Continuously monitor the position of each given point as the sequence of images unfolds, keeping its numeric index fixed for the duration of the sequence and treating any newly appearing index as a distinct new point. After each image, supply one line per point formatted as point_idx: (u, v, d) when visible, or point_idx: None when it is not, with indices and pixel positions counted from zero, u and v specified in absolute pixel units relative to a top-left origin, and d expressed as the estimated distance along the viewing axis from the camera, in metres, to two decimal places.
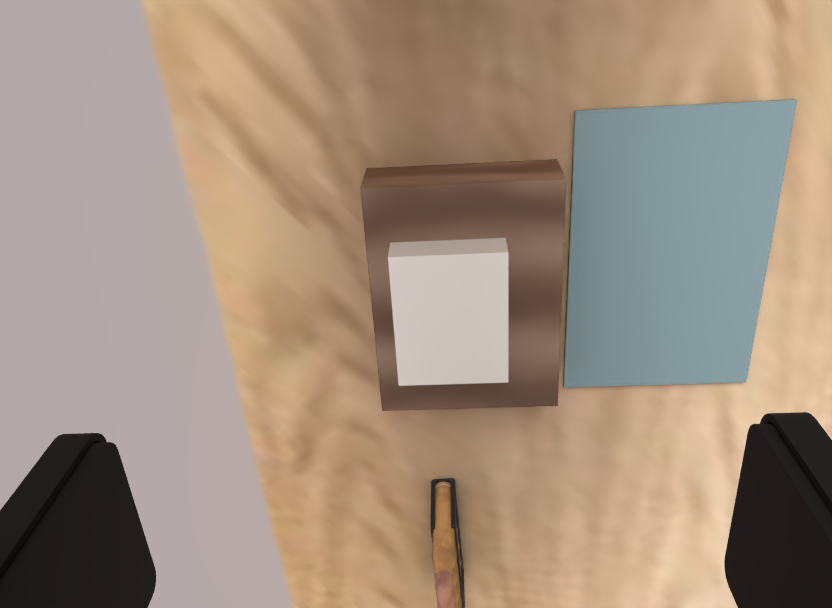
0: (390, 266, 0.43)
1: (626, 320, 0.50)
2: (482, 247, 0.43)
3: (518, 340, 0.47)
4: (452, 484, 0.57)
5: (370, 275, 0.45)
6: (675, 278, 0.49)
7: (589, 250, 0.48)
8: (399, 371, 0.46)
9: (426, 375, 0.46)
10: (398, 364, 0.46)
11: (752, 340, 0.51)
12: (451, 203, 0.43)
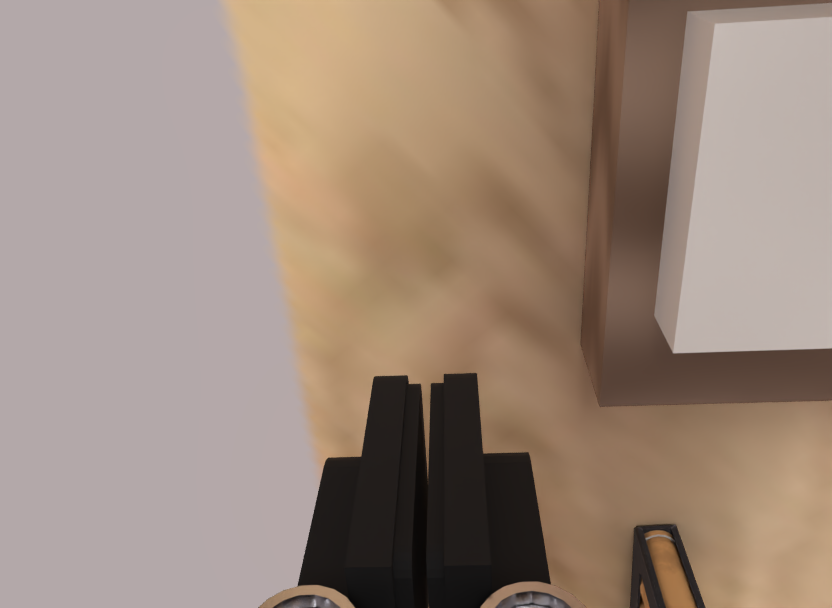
0: (716, 50, 0.17)
1: None
2: None
3: None
4: (677, 536, 0.32)
5: (625, 99, 0.20)
6: None
7: None
8: (681, 320, 0.21)
9: (741, 329, 0.21)
10: (683, 304, 0.20)
11: None
12: None
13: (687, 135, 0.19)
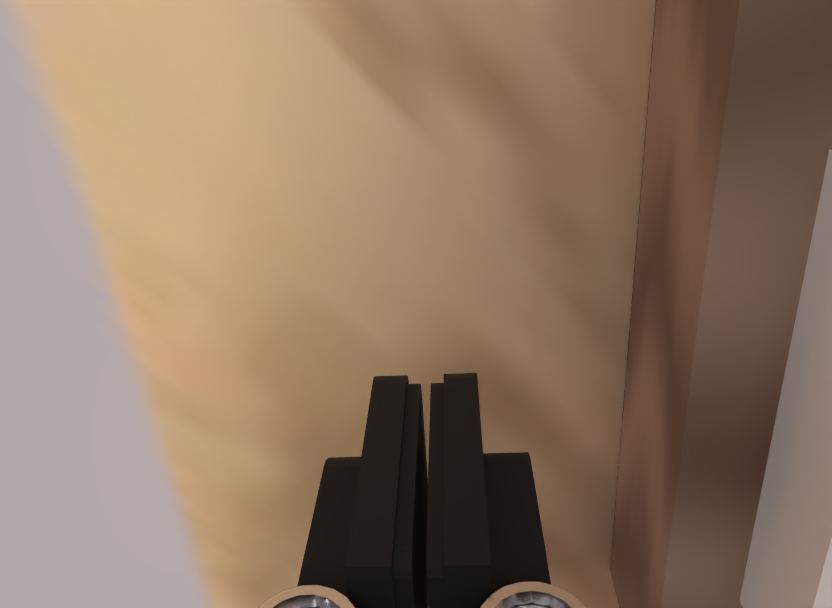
0: None
1: None
2: None
3: None
4: None
5: (708, 292, 0.11)
6: None
7: None
8: None
9: None
10: None
11: None
12: None
13: (828, 370, 0.10)
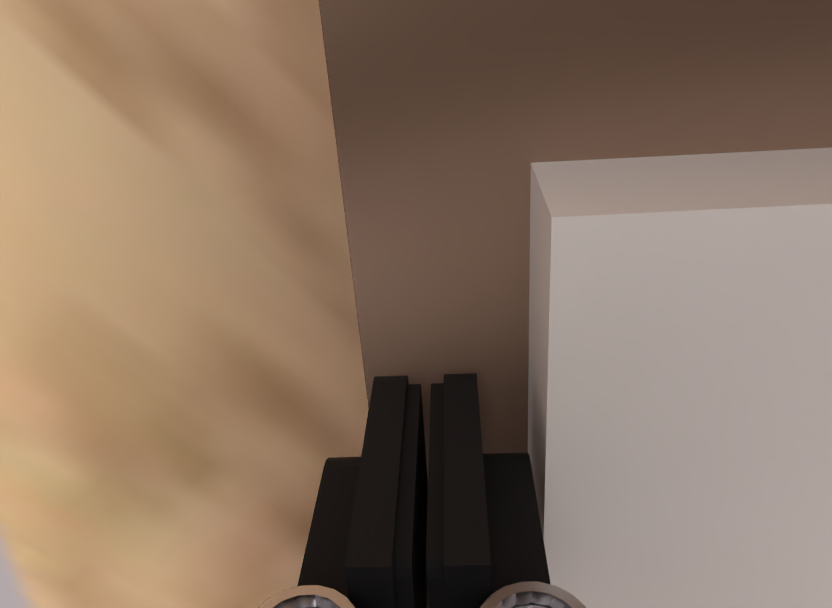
0: (559, 263, 0.09)
1: None
2: None
3: None
4: None
5: (361, 299, 0.12)
6: None
7: None
8: None
9: None
10: None
11: None
12: None
13: (537, 376, 0.11)
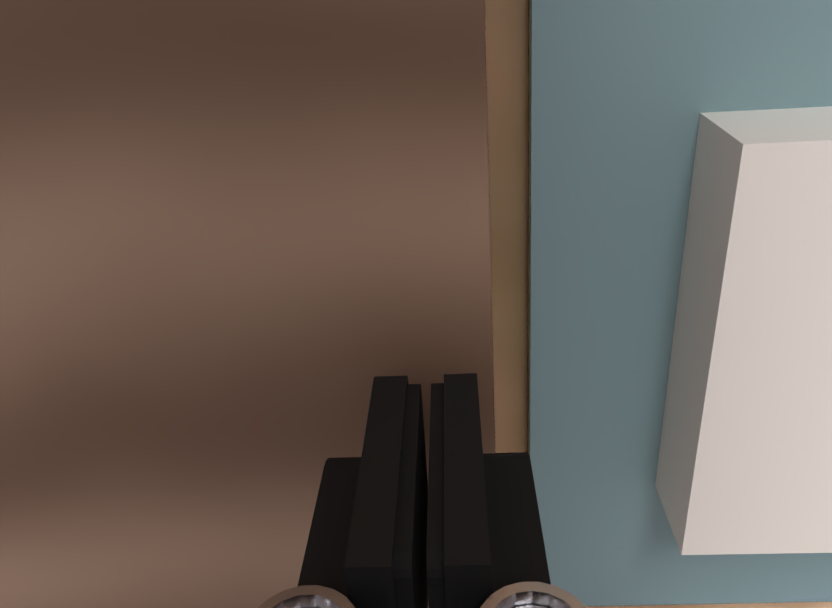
0: None
1: None
2: (800, 119, 0.13)
3: None
4: None
5: None
6: None
7: (594, 233, 0.15)
8: None
9: None
10: None
11: None
12: None
13: None
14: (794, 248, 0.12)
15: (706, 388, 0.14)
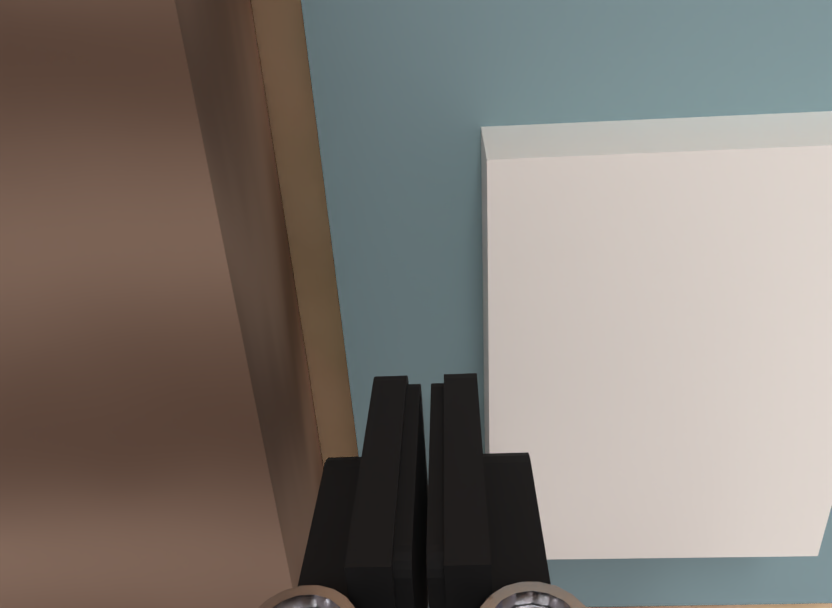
0: None
1: None
2: (564, 134, 0.13)
3: (146, 546, 0.14)
4: None
5: None
6: None
7: (394, 244, 0.15)
8: None
9: None
10: None
11: None
12: None
13: None
14: (552, 261, 0.13)
15: (489, 396, 0.14)
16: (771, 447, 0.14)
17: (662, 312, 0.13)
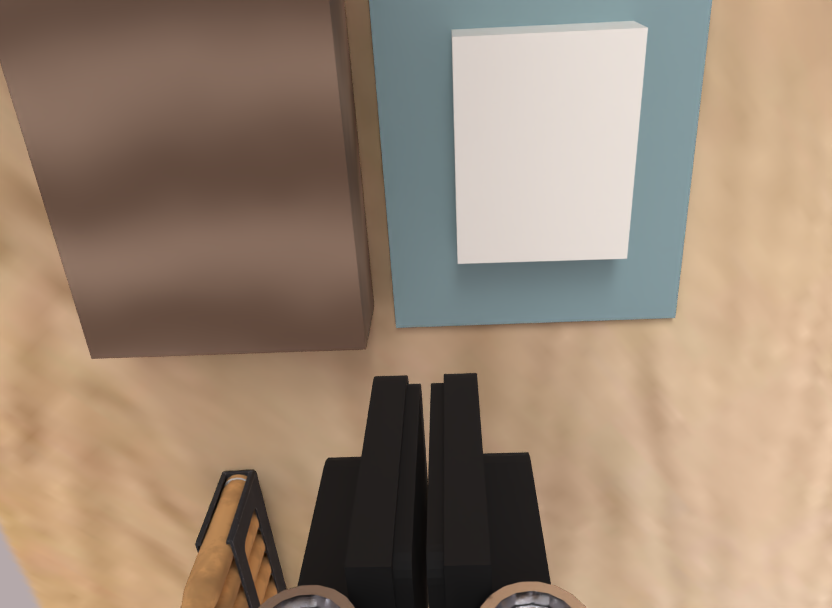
0: None
1: None
2: (490, 30, 0.27)
3: (285, 237, 0.29)
4: (249, 478, 0.39)
5: (20, 119, 0.27)
6: None
7: (408, 93, 0.30)
8: None
9: None
10: None
11: (681, 248, 0.32)
12: None
13: None
14: (483, 87, 0.27)
15: (455, 162, 0.29)
16: (595, 190, 0.29)
17: (536, 115, 0.28)
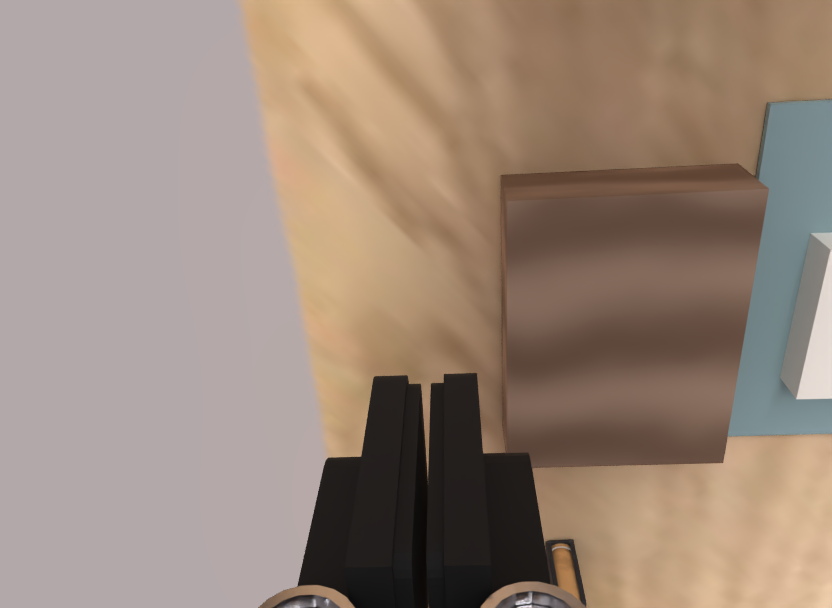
0: None
1: None
2: None
3: (683, 386, 0.39)
4: (572, 547, 0.49)
5: (509, 307, 0.37)
6: None
7: (767, 274, 0.39)
8: None
9: None
10: None
11: None
12: (619, 219, 0.34)
13: None
14: None
15: (811, 331, 0.38)
16: None
17: None
